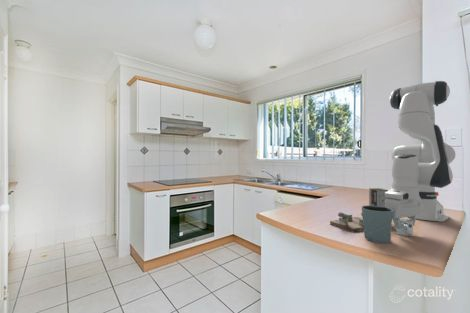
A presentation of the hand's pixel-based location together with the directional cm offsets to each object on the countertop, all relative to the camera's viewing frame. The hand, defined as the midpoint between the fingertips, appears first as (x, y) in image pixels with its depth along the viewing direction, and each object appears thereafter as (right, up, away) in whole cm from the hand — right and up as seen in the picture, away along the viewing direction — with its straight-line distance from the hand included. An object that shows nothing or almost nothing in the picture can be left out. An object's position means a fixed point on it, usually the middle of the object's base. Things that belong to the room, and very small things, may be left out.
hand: (404, 227), depth 89 cm
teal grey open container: (-15, -3, -5) cm, 16 cm away
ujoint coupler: (0, -3, 0) cm, 3 cm away
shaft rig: (-14, -3, +12) cm, 18 cm away
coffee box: (+1, -3, +17) cm, 18 cm away
